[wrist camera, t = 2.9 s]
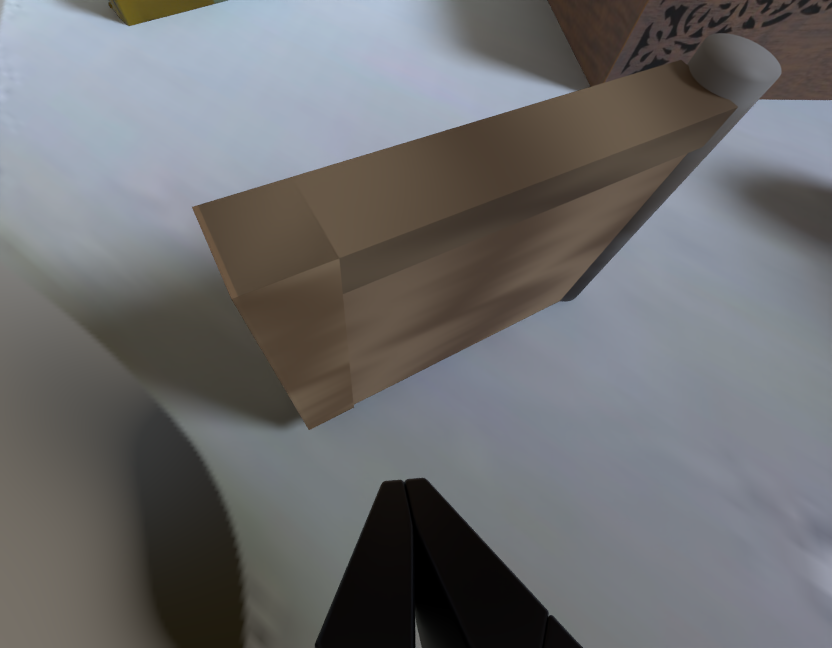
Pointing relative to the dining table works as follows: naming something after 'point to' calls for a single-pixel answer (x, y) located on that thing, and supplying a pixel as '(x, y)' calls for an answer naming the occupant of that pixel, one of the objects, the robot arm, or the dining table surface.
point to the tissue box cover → (701, 37)
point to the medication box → (154, 8)
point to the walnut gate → (465, 224)
